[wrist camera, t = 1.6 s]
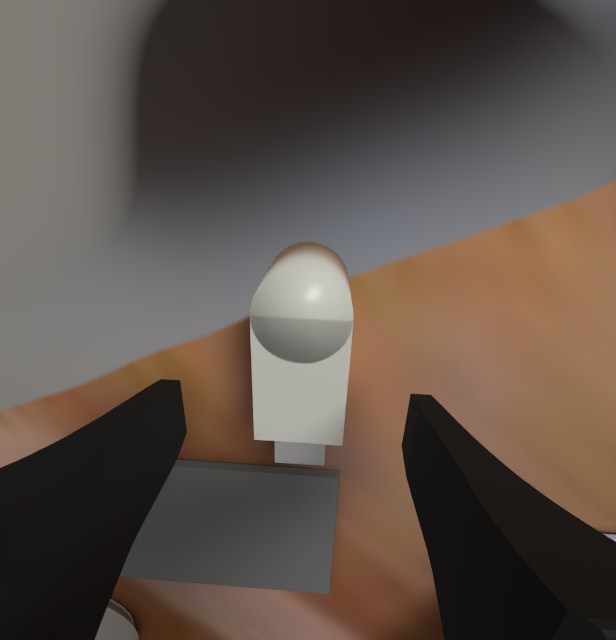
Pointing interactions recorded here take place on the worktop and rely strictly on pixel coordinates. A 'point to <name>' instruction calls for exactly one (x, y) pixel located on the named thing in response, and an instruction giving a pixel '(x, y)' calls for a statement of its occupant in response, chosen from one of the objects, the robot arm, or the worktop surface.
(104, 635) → the can
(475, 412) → the worktop surface
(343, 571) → the worktop surface
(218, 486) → the mat
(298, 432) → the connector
